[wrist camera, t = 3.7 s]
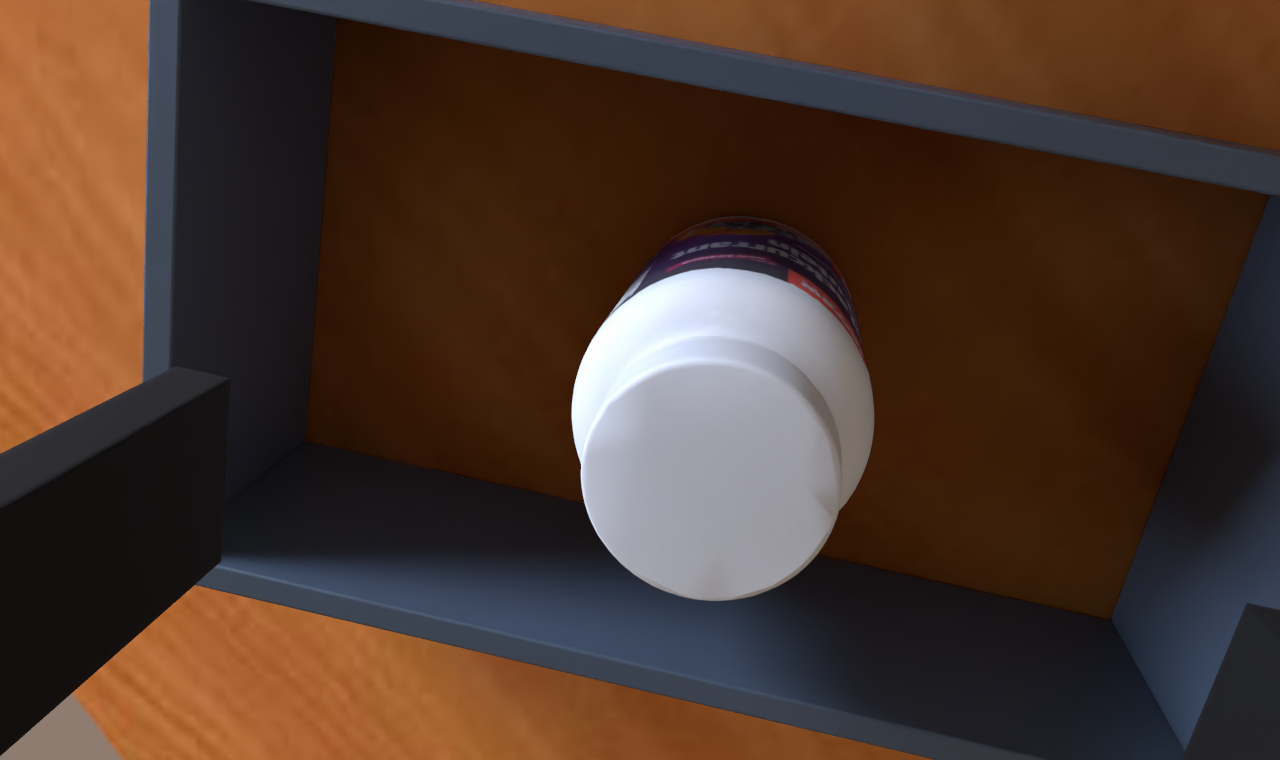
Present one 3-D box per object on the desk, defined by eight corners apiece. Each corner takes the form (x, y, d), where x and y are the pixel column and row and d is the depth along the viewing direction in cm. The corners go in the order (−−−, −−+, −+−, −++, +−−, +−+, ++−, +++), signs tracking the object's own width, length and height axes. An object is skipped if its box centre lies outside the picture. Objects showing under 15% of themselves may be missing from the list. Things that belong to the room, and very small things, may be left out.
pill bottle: (893, 262, 24) (957, 399, 15) (799, 462, 26) (803, 694, 16) (675, 175, 24) (601, 256, 15) (596, 379, 26) (488, 565, 16)
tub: (283, 455, 28) (138, 572, 21) (315, -30, 24) (148, -56, 17) (1125, 645, 26) (1230, 831, 20) (1313, 157, 22) (1517, 200, 16)
